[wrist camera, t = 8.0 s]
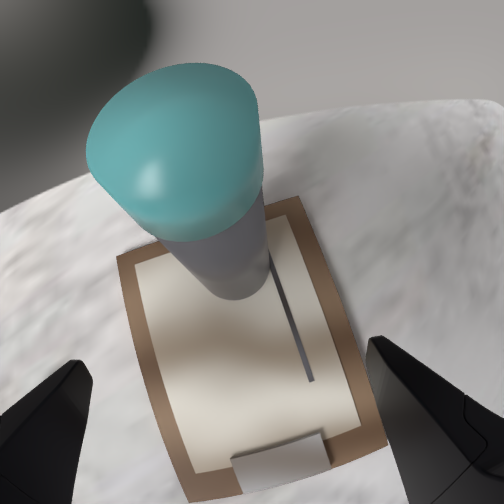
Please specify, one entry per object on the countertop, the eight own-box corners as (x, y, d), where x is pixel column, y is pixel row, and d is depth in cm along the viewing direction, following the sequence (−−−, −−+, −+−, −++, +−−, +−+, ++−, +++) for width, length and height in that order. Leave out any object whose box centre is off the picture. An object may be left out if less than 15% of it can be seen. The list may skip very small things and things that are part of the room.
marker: (286, 270, 18) (298, 119, 6) (227, 317, 17) (129, 238, 6) (238, 214, 19) (190, 43, 8) (181, 257, 18) (66, 124, 7)
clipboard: (385, 442, 15) (391, 447, 14) (191, 498, 14) (186, 506, 13) (297, 200, 20) (298, 191, 19) (120, 259, 19) (112, 253, 18)
